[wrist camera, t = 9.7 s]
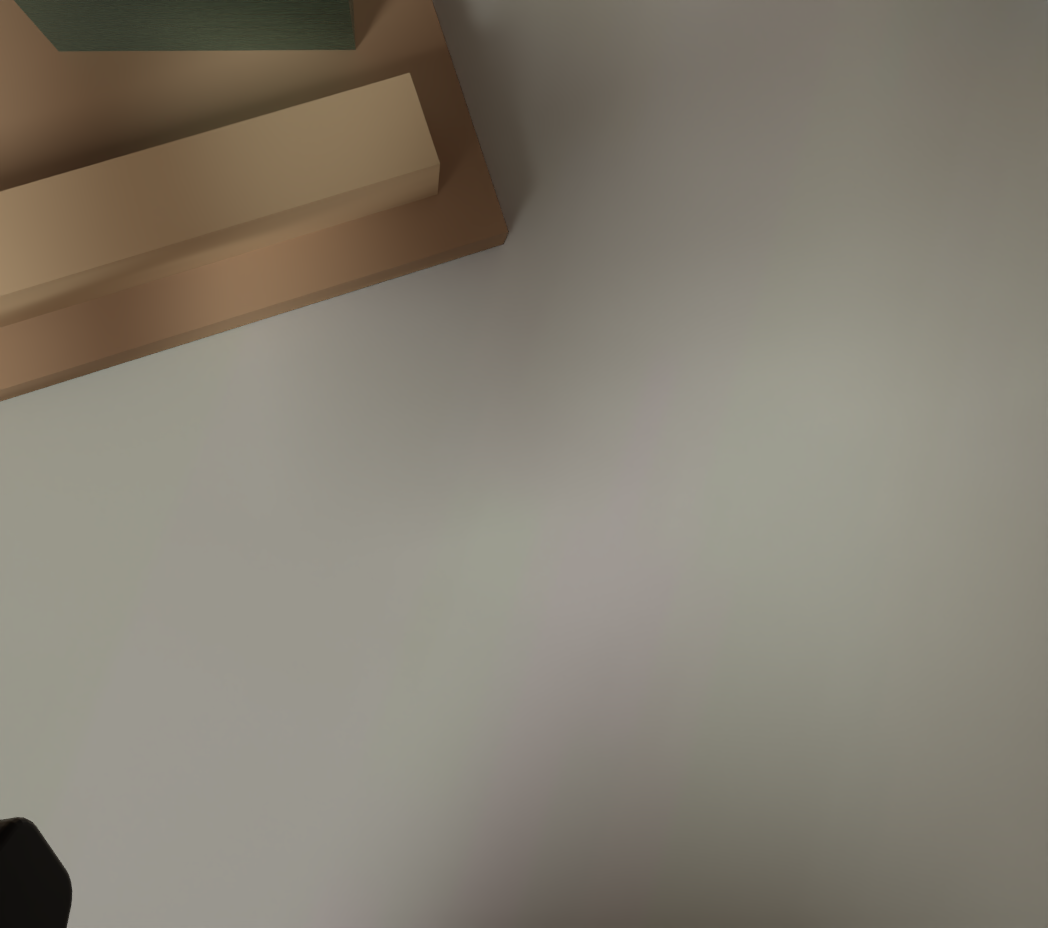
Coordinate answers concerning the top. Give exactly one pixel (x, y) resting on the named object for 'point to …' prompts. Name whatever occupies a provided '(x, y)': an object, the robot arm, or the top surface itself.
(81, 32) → the tea tin
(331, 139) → the wooden square frame
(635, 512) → the top surface
